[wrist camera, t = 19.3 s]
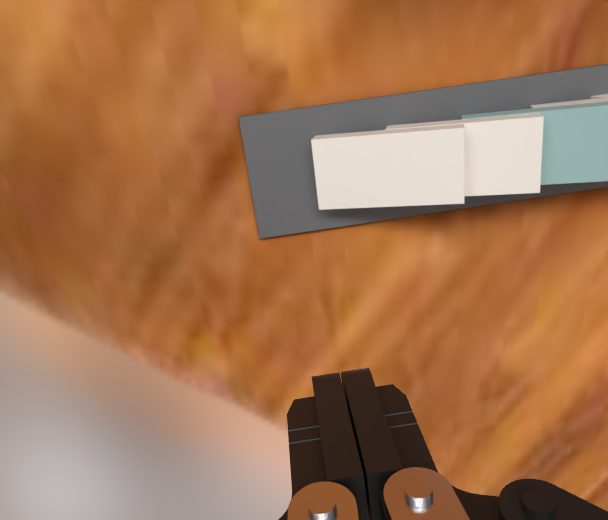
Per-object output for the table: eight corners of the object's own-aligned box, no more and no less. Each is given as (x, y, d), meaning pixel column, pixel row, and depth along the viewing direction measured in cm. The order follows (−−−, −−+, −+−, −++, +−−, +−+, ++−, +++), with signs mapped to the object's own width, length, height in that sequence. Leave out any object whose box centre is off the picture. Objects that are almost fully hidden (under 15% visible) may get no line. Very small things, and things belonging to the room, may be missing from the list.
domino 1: (318, 209, 38) (464, 203, 35) (310, 139, 36) (464, 127, 33) (323, 203, 39) (463, 196, 37) (316, 135, 37) (463, 123, 35)
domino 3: (462, 189, 38) (619, 180, 35) (461, 118, 36) (626, 103, 33) (462, 183, 39) (613, 174, 37) (461, 115, 38) (619, 100, 35)
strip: (259, 236, 40) (259, 238, 40) (238, 117, 37) (238, 117, 36) (642, 180, 41) (645, 181, 40) (656, 57, 37) (660, 57, 37)
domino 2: (389, 199, 38) (539, 192, 35) (385, 129, 36) (543, 116, 33) (391, 193, 39) (536, 186, 37) (387, 125, 37) (539, 112, 35)
